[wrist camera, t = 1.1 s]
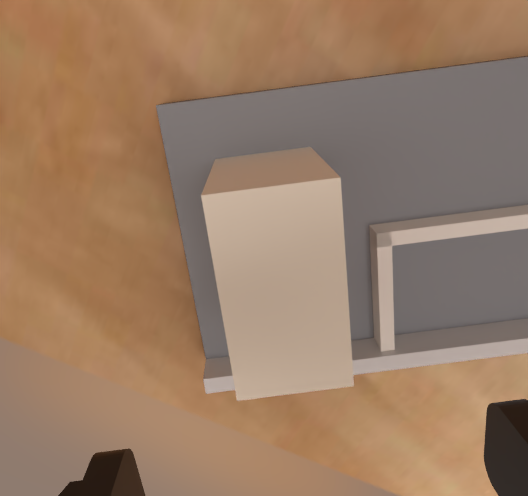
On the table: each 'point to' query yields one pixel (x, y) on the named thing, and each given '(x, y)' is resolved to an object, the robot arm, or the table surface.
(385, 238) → the shelf deck
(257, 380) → the cream box
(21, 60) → the table surface
